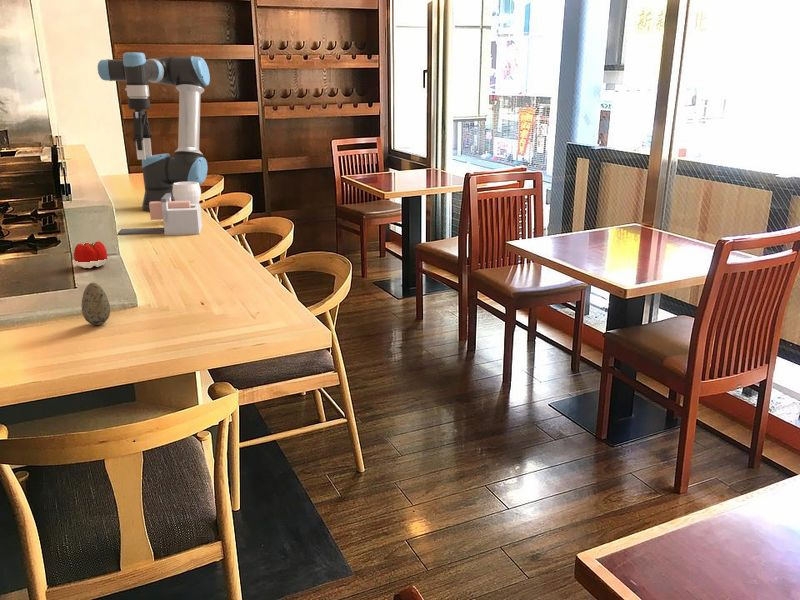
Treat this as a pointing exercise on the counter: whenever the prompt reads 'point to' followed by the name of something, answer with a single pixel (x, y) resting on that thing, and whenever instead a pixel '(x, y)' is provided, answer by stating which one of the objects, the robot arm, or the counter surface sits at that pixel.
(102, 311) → the decorative egg
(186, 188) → the cup
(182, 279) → the counter surface
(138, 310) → the counter surface
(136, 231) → the pad
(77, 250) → the tomato
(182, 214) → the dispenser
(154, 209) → the pink rectangular block
